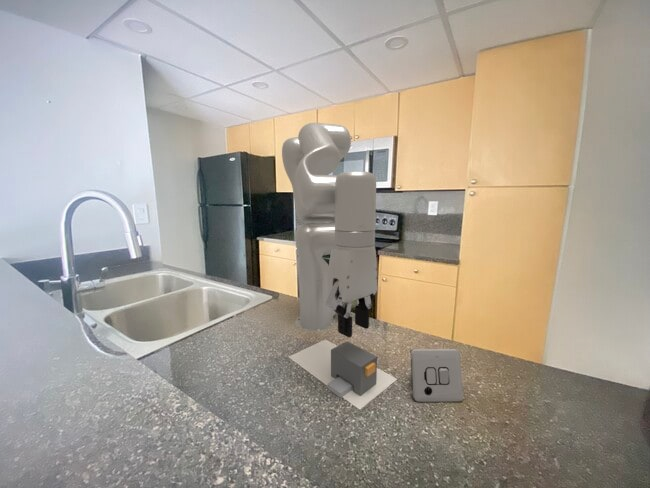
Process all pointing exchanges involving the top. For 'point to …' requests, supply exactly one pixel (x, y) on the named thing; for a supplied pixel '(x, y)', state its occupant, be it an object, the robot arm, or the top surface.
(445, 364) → the electrical switch
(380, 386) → the plate
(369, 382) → the block
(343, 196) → the robot arm
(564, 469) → the top surface
